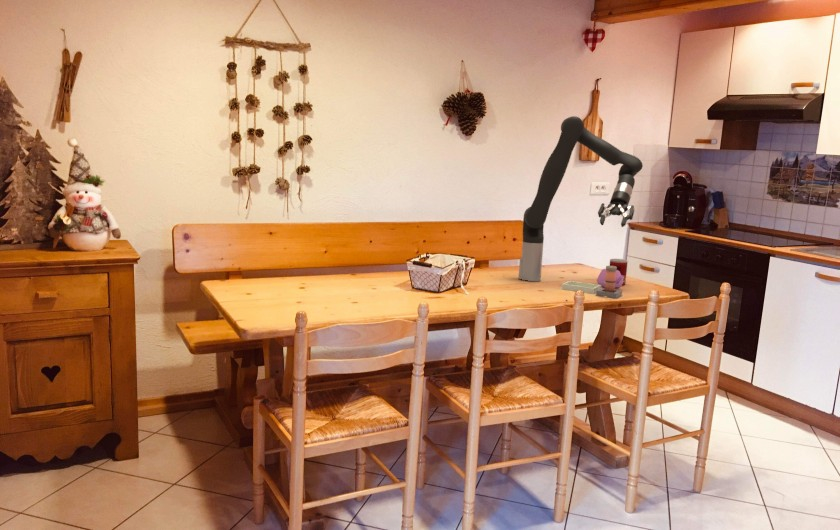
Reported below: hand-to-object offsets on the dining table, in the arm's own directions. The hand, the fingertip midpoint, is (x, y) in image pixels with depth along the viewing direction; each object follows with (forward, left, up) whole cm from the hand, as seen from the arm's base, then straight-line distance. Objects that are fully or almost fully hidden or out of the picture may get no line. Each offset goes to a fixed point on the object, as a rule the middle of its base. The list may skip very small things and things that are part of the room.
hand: (611, 224), depth 294 cm
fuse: (+4, -10, -28) cm, 30 cm away
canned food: (-2, +23, -29) cm, 37 cm away
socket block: (+4, -10, -29) cm, 31 cm away
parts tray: (-9, -6, -29) cm, 31 cm away
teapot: (-1, +10, -29) cm, 31 cm away
